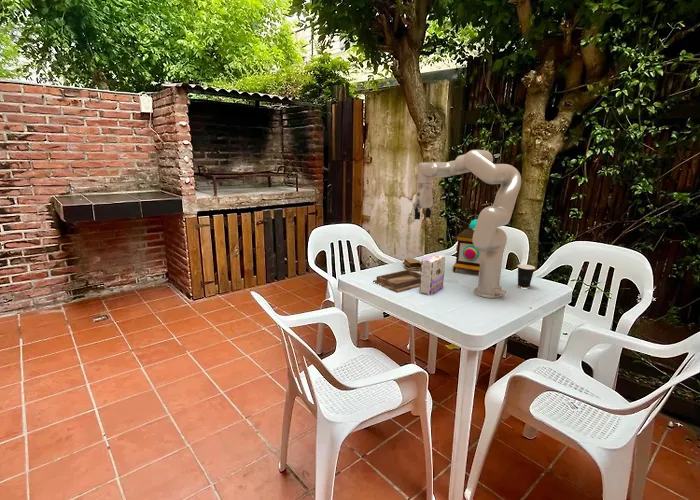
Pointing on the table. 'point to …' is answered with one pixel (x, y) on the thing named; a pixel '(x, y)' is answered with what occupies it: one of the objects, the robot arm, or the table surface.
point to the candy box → (432, 274)
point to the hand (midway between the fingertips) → (422, 218)
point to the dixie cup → (525, 275)
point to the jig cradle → (399, 280)
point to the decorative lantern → (467, 250)
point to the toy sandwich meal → (412, 264)
